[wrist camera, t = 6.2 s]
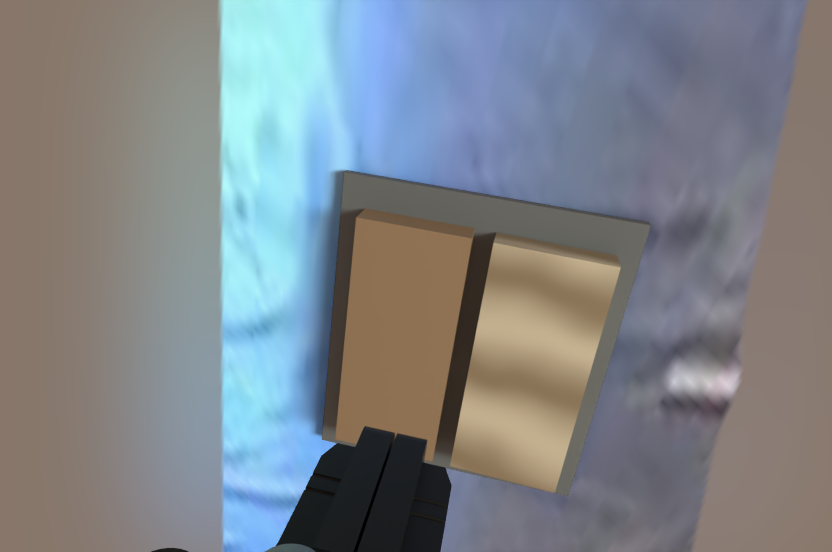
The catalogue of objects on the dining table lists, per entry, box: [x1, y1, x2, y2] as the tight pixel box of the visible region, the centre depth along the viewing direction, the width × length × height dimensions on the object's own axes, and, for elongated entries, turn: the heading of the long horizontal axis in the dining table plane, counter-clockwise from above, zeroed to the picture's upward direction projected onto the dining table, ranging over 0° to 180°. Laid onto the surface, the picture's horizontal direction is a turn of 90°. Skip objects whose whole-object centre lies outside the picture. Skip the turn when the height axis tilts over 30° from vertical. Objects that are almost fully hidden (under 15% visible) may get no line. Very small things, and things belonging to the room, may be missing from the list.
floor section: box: [322, 170, 651, 496], centre depth 37 cm, size 20×18×3 cm
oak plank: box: [450, 233, 621, 493], centre depth 36 cm, size 16×7×2 cm, turn 172°
